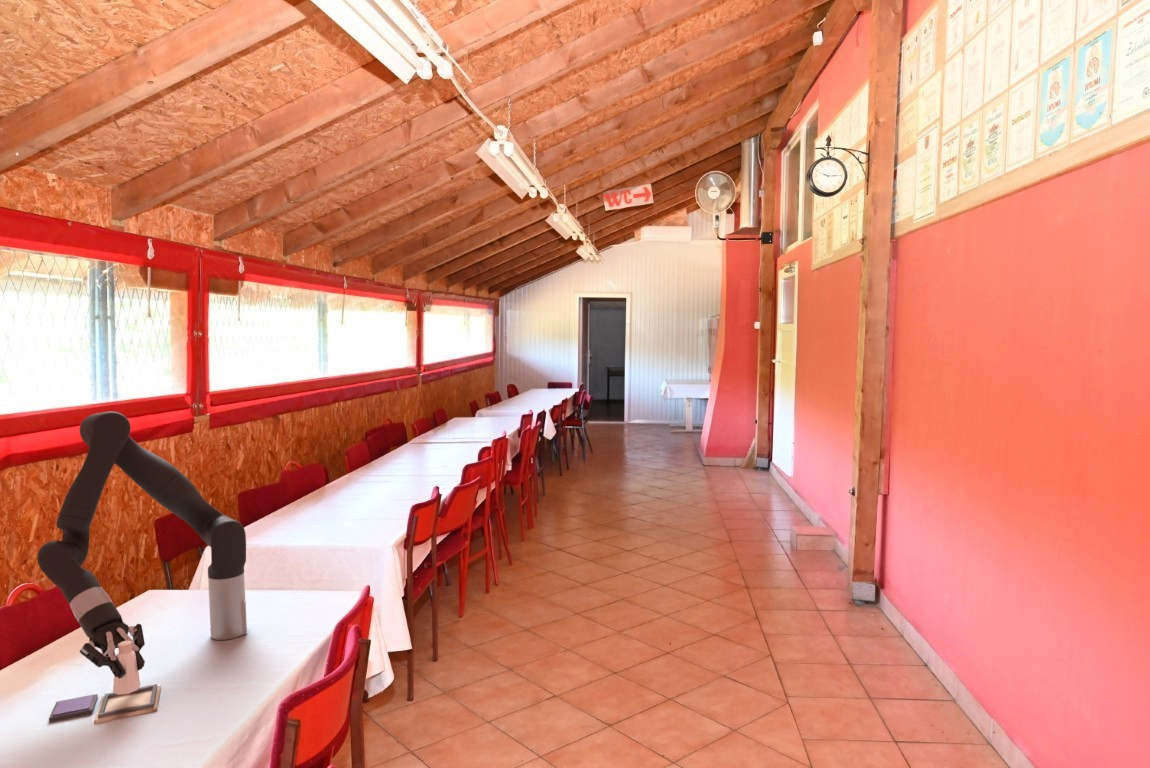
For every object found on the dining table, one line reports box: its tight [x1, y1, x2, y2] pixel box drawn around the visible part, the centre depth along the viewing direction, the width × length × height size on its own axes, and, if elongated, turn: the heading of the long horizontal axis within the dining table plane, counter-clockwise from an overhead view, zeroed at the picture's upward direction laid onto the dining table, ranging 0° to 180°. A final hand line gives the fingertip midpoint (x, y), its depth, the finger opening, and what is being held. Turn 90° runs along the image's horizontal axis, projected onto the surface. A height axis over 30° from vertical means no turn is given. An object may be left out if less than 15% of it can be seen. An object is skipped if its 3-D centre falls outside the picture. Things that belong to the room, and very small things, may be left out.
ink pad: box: [48, 693, 99, 723], centre depth 167 cm, size 8×8×1 cm
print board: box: [93, 683, 162, 724], centre depth 169 cm, size 12×12×1 cm
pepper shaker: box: [112, 641, 142, 695], centre depth 168 cm, size 5×5×11 cm
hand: (132, 671), depth 167 cm, fingers closed on pepper shaker, 3 cm apart
